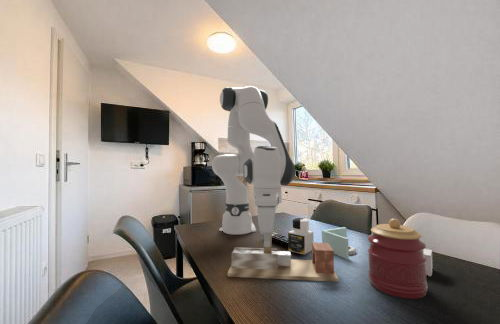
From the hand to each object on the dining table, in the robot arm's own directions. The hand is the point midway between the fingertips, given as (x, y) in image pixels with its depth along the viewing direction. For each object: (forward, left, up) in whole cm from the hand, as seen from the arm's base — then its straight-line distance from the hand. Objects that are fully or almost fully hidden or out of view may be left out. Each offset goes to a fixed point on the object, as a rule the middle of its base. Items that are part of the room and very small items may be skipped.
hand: (267, 241), depth 71 cm
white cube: (-4, +46, -9) cm, 47 cm away
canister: (+7, +34, -9) cm, 36 cm away
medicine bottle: (-18, +12, -9) cm, 23 cm away
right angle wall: (-19, +29, -9) cm, 36 cm away
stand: (0, +4, -9) cm, 9 cm away
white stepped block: (0, -2, -7) cm, 7 cm away
